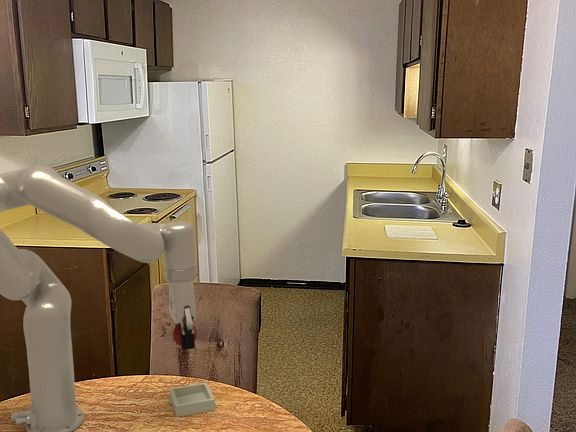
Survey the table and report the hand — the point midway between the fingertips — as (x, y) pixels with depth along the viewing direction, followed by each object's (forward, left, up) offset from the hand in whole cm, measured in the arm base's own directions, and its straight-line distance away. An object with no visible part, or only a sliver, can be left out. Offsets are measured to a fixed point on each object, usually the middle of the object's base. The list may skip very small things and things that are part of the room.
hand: (185, 342), depth 140 cm
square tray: (+1, 0, -16) cm, 16 cm away
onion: (0, 0, -2) cm, 2 cm away
